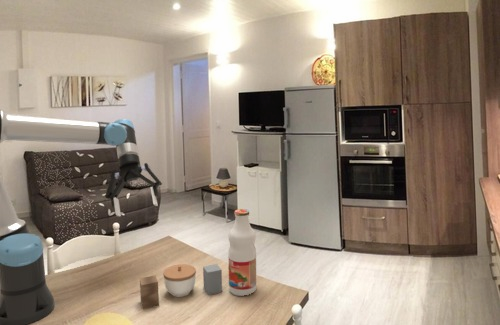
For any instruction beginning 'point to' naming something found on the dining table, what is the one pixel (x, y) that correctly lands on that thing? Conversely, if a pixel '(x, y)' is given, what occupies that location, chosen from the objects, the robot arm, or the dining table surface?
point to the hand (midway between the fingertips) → (137, 210)
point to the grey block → (212, 279)
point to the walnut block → (149, 292)
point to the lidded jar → (179, 279)
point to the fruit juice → (242, 255)
